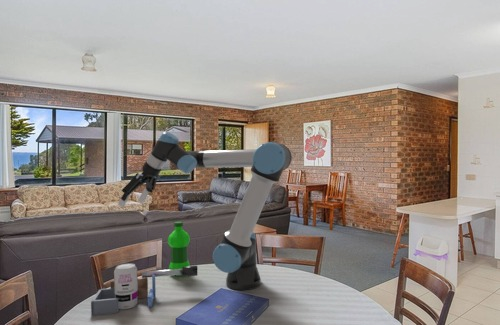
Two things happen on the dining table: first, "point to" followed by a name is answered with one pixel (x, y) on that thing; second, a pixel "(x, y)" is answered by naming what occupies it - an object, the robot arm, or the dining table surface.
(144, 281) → the brown wooden board
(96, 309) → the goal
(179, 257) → the plastic bottle
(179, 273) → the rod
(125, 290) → the supplement can
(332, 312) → the dining table surface
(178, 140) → the robot arm
